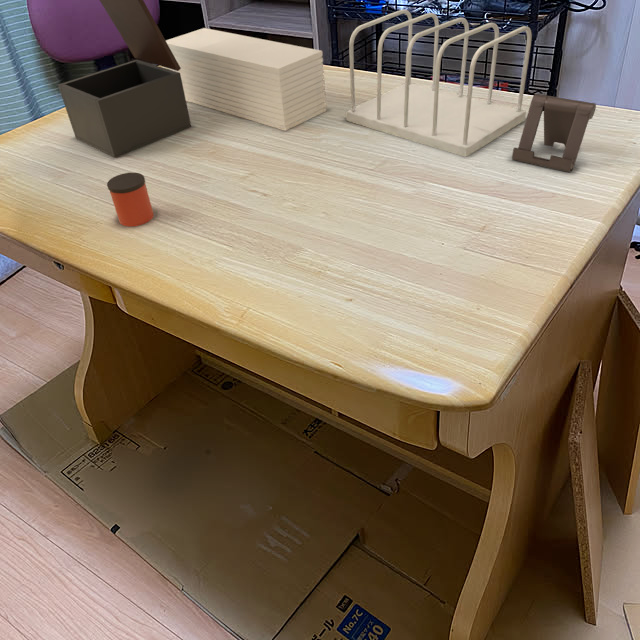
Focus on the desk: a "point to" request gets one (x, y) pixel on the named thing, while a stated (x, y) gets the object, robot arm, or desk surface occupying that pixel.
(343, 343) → the desk surface
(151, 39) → the brown box lid
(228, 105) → the stack of papers
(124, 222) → the container
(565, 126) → the tablet stand
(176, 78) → the brown hinged lid box
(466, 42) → the file sorter
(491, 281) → the desk surface
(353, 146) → the desk surface
